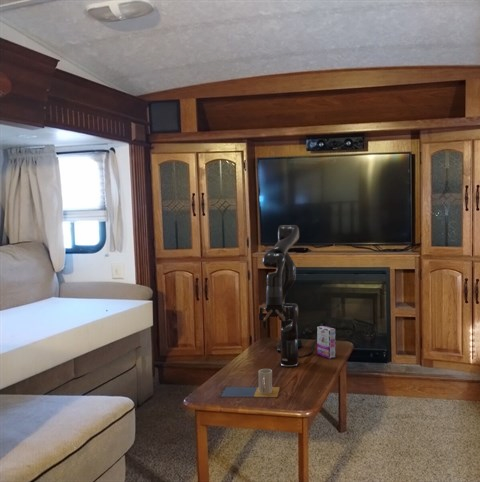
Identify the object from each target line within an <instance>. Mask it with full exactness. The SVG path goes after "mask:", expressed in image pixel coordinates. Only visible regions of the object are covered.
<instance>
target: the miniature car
mask: <svg viewBox="0 0 480 482" xmlns="http://www.w3.org/2000/svg"><path fill="white" fill-rule="evenodd" d="M302 346H303V341H302V339H301V338H298V348H302ZM276 351H277V352H281V338H280V339H279V342H278V344H277V348H276Z"/></svg>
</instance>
